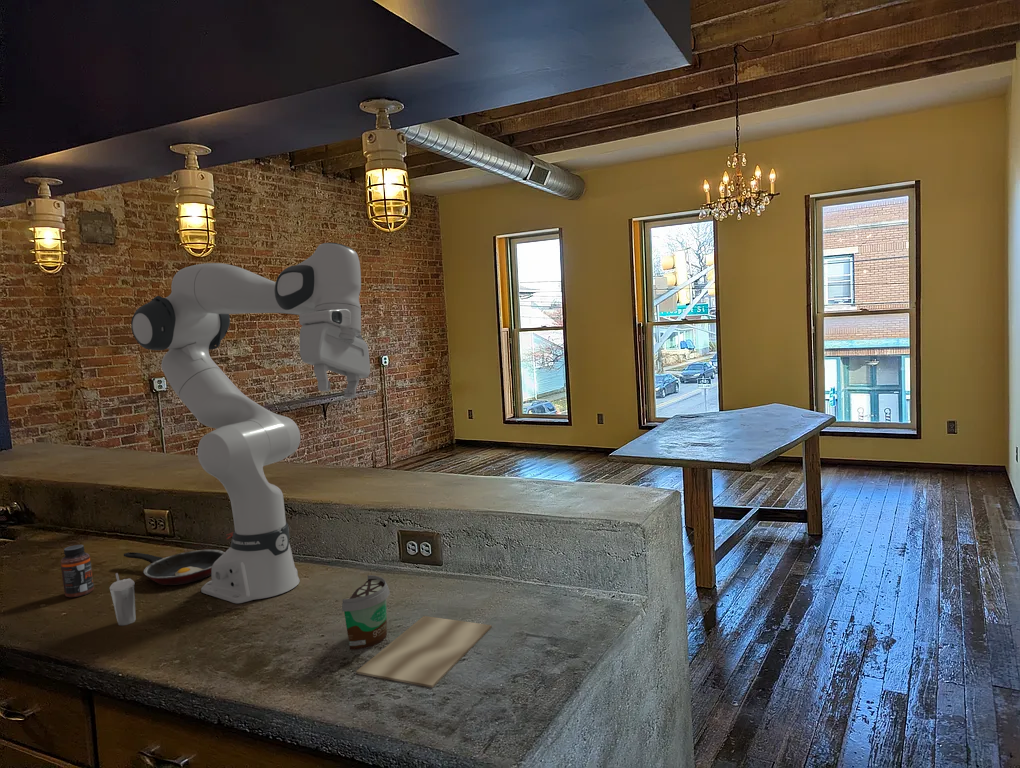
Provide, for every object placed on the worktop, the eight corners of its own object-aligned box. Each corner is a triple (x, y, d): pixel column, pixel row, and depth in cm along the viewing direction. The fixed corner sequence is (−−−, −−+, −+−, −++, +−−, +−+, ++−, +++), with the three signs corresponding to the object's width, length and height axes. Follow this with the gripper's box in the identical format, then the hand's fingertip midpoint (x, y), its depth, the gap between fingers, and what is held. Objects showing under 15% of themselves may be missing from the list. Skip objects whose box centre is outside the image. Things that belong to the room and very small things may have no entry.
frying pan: (181, 593, 158) (179, 578, 158) (92, 579, 172) (90, 565, 172) (244, 564, 175) (242, 550, 175) (158, 553, 189) (157, 540, 189)
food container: (378, 654, 122) (373, 601, 121) (346, 653, 124) (341, 600, 123) (402, 623, 134) (398, 574, 133) (373, 622, 136) (368, 574, 135)
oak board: (356, 673, 116) (356, 671, 116) (423, 617, 136) (423, 615, 136) (432, 687, 110) (432, 685, 110) (491, 627, 130) (491, 625, 130)
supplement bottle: (93, 594, 161) (86, 548, 160) (63, 600, 159) (56, 553, 158) (95, 586, 167) (89, 541, 166) (67, 592, 164) (60, 546, 163)
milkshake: (134, 614, 148) (128, 569, 147) (142, 621, 144) (136, 575, 143) (110, 622, 145) (104, 576, 144) (118, 629, 141) (111, 582, 140)
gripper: (350, 337, 144) (350, 402, 141) (293, 312, 124) (292, 387, 122) (377, 334, 142) (377, 400, 140) (324, 308, 123) (323, 384, 120)
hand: (337, 394), depth 131 cm, fingers open, 8 cm apart
